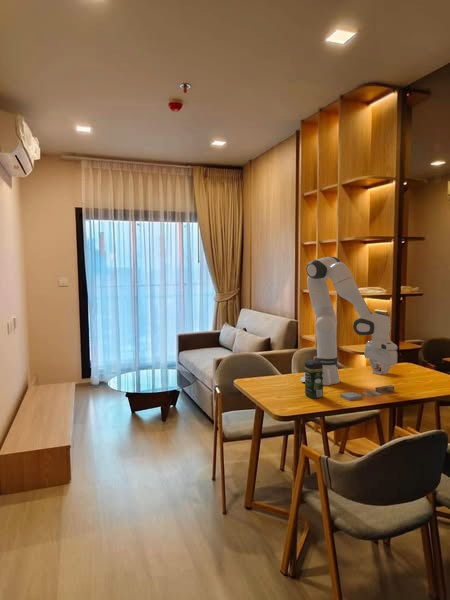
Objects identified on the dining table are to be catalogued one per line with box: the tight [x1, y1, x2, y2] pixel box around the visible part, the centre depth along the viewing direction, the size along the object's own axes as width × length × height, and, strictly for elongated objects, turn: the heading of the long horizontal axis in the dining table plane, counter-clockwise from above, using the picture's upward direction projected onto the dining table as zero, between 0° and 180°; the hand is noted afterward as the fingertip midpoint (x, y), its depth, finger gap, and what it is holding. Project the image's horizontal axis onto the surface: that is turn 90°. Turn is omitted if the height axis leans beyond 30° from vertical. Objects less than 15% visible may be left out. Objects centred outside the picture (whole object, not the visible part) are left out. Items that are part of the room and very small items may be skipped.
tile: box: [340, 391, 364, 402], centre depth 203 cm, size 2×7×8 cm
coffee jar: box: [304, 359, 324, 399], centre depth 207 cm, size 10×8×19 cm
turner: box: [361, 384, 395, 398], centre depth 210 cm, size 17×6×3 cm, turn 111°
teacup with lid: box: [371, 360, 392, 376], centre depth 250 cm, size 12×9×12 cm
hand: (379, 370), depth 210 cm, fingers open, 8 cm apart
